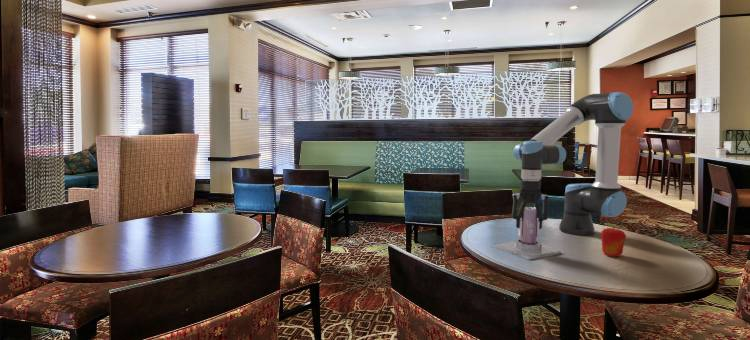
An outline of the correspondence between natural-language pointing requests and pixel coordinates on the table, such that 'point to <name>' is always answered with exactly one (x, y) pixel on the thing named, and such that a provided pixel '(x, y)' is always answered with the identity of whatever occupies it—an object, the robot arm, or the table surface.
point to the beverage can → (529, 225)
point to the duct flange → (528, 249)
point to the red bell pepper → (613, 241)
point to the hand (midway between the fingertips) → (528, 236)
